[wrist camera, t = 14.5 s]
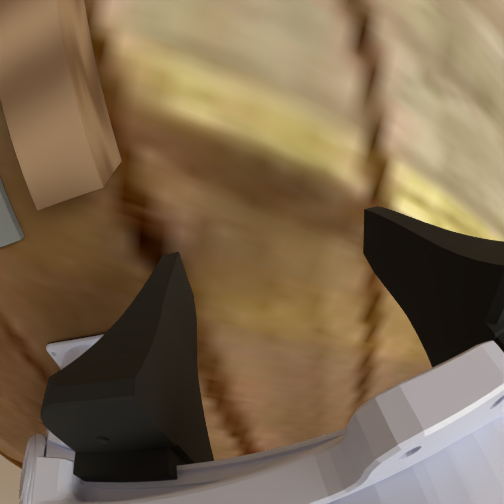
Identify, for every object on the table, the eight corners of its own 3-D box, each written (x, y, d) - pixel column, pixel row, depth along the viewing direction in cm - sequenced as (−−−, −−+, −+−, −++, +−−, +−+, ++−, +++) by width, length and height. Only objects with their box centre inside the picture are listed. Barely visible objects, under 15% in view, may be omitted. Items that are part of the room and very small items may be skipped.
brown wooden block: (122, 160, 18) (102, 188, 14) (67, 179, 18) (37, 210, 14) (82, -14, 12) (52, -35, 8) (26, 12, 11) (-15, 3, 7)
